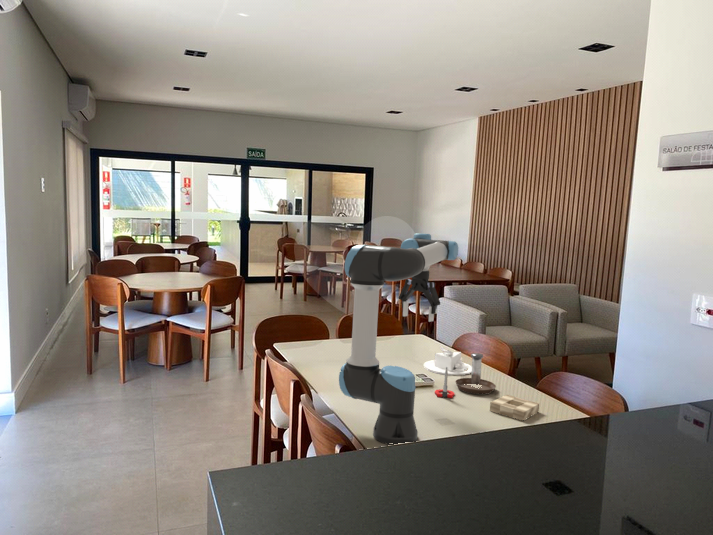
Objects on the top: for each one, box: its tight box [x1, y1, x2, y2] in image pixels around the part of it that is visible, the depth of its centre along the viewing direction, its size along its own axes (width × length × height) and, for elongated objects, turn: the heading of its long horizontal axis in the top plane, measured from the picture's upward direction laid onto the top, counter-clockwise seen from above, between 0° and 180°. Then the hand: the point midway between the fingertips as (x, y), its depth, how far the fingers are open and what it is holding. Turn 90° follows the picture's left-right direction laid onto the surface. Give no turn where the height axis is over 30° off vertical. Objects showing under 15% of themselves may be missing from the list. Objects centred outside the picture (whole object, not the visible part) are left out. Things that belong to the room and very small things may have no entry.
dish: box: [423, 345, 472, 376], centre depth 270 cm, size 25×25×11 cm
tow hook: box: [434, 367, 456, 399], centre depth 230 cm, size 8×13×9 cm
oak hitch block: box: [489, 394, 540, 421], centre depth 213 cm, size 14×14×4 cm
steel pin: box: [470, 352, 484, 385], centre depth 238 cm, size 5×5×13 cm
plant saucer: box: [454, 377, 497, 395], centre depth 239 cm, size 18×18×3 cm
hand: (417, 318), depth 230 cm, fingers open, 13 cm apart
